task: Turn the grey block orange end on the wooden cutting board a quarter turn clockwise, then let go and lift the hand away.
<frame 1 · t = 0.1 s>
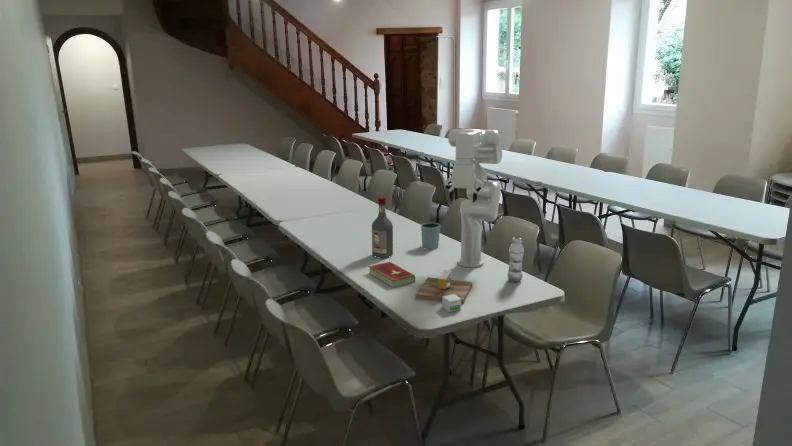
hand: (463, 201, 252), 37 cm above the table, tool pointing down, fingers open, 9 cm apart
small box: (451, 309, 233), on the table
drinking glass: (430, 247, 310), on the table
hardcover book: (391, 278, 267), on the table
plastic bottle: (514, 281, 262), on the table
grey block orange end: (444, 281, 248), point 5 cm above the table, hinge at 0.0°
liquor: (382, 255, 296), on the table
wooden cutting board: (444, 292, 249), on the table
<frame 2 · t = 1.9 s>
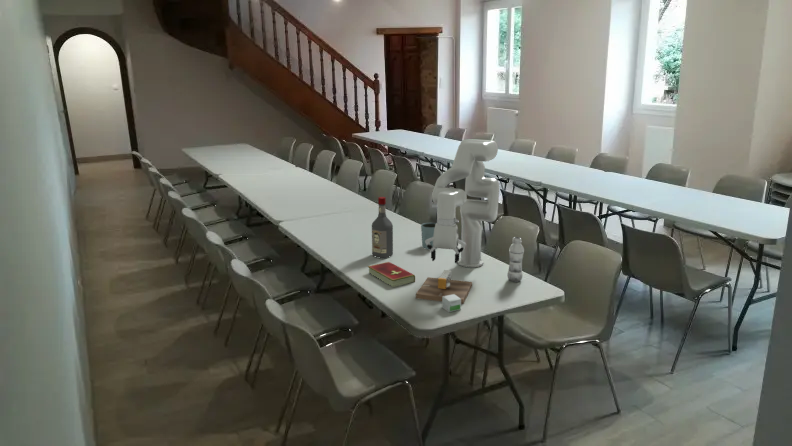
hand: (445, 261, 245), 14 cm above the table, tool pointing down, fingers open, 9 cm apart
nothing on the table moved.
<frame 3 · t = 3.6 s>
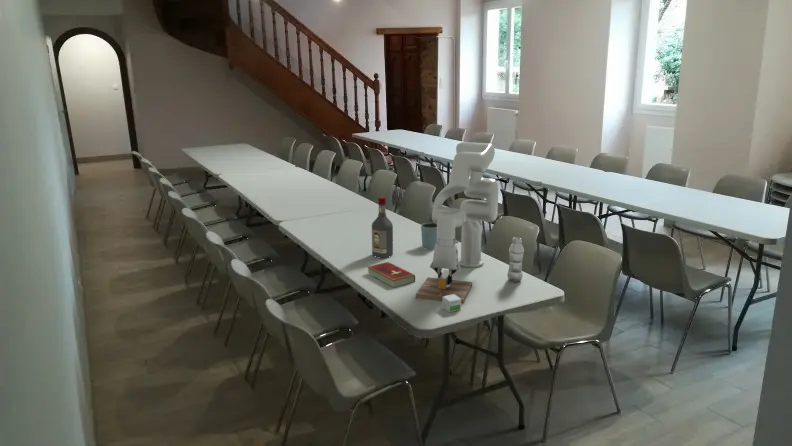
hand: (444, 282, 248), 4 cm above the table, tool pointing down, fingers closed on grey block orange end, 3 cm apart
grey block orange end: (444, 281, 248), point 5 cm above the table, hinge at -0.1°, touching gripper
everything else where it was.
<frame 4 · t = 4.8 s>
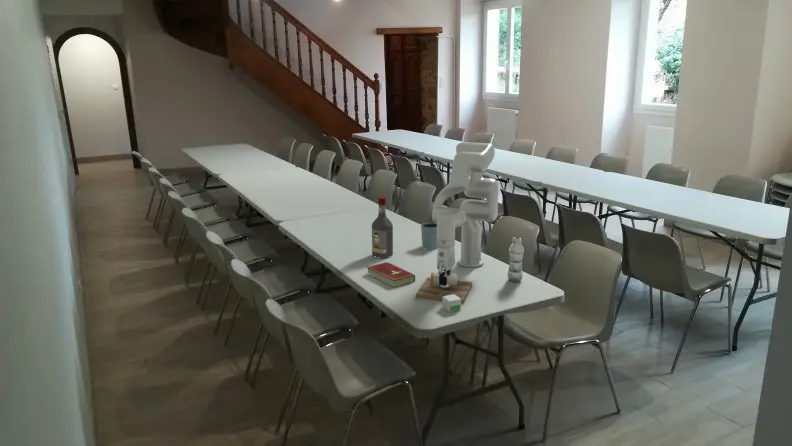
hand: (444, 282, 248), 4 cm above the table, tool pointing down, fingers closed on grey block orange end, 4 cm apart
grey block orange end: (443, 280, 248), point 5 cm above the table, hinge at -77.3°, touching gripper
everything else where it was.
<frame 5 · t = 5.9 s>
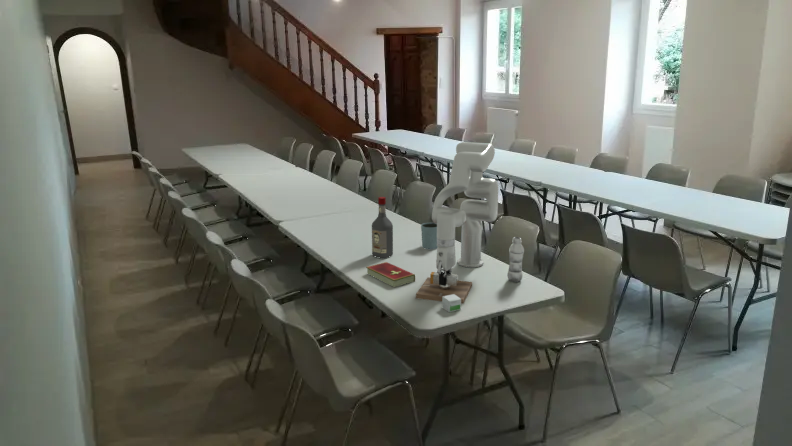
hand: (444, 282, 248), 4 cm above the table, tool pointing down, fingers closed on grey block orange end, 3 cm apart
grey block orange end: (443, 280, 248), point 5 cm above the table, hinge at -87.0°, touching gripper
everything else where it was.
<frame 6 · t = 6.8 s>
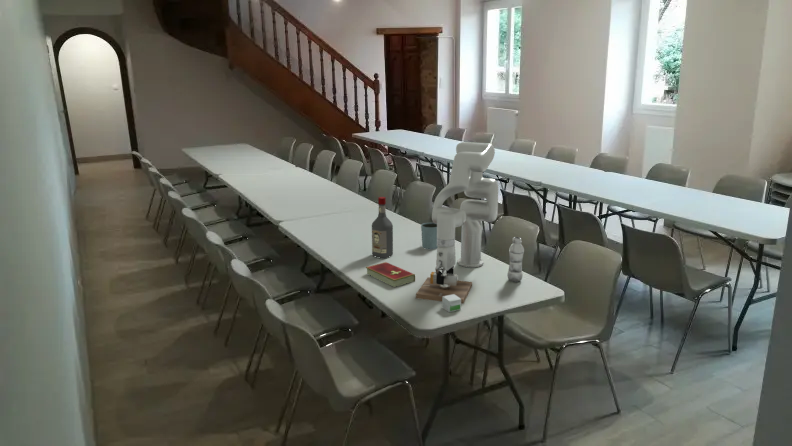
hand: (445, 280, 248), 5 cm above the table, tool pointing down, fingers open, 9 cm apart
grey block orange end: (443, 280, 248), point 5 cm above the table, hinge at -87.5°
everything else where it was.
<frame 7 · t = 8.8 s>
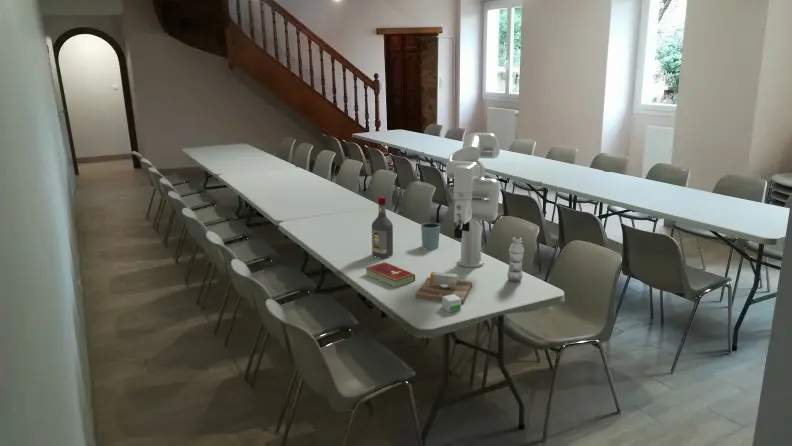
hand: (461, 234, 247), 24 cm above the table, tool pointing down, fingers open, 9 cm apart
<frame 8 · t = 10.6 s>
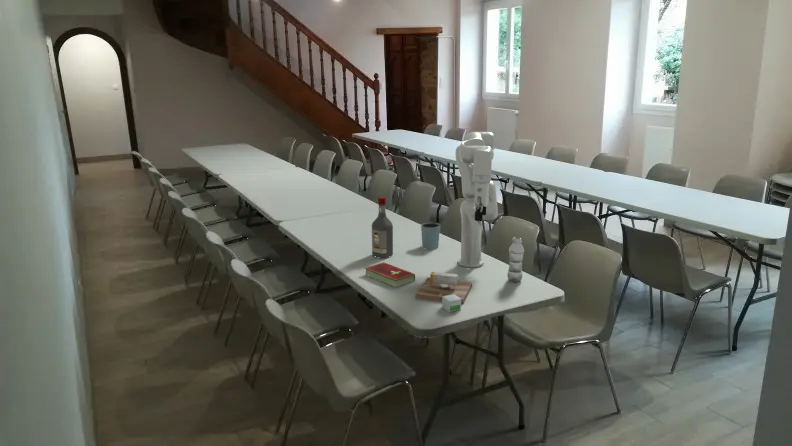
hand: (480, 217, 250), 30 cm above the table, tool pointing down, fingers open, 9 cm apart
at the end: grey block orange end at -88° (first picture: +0°); the gripper is holding nothing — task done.
